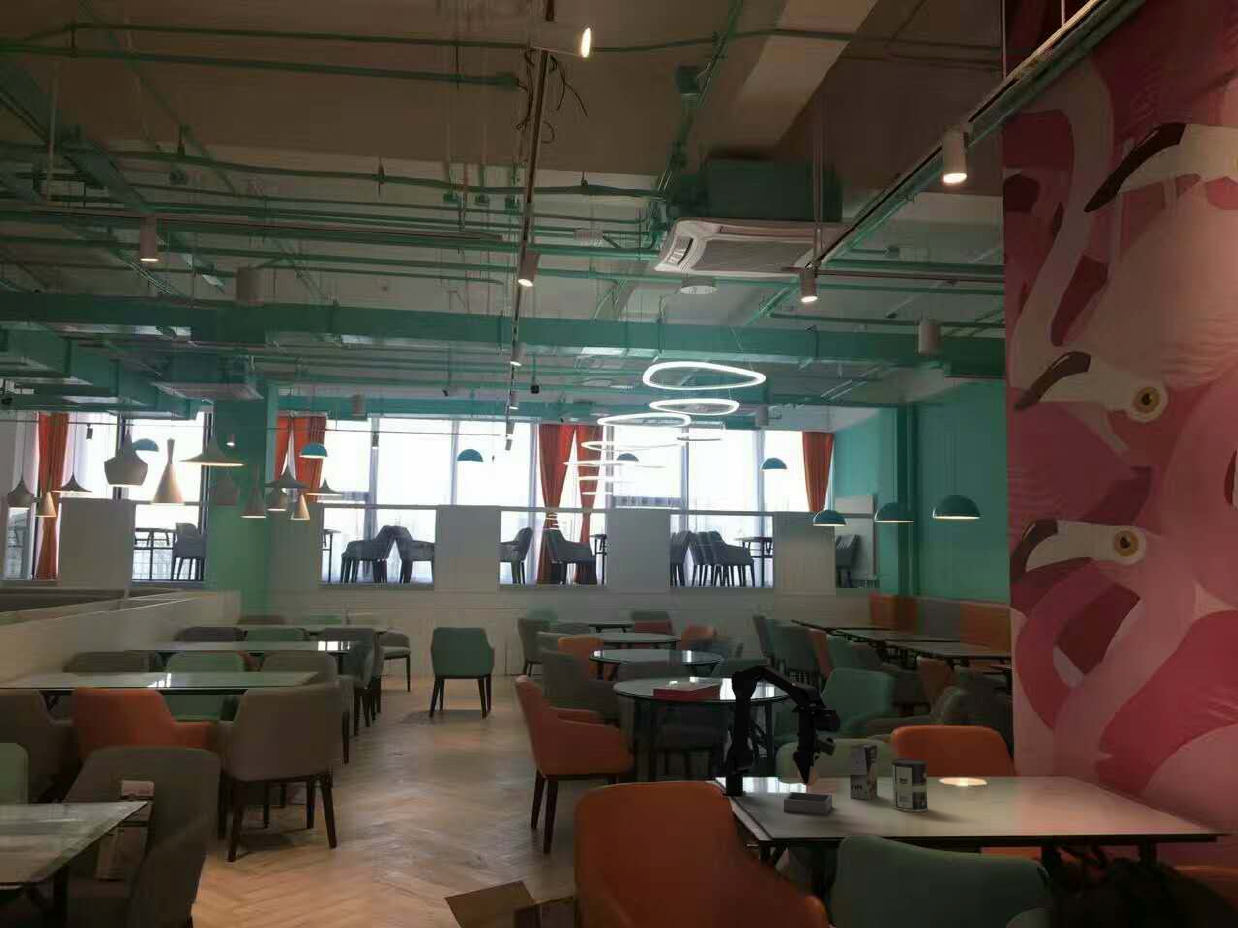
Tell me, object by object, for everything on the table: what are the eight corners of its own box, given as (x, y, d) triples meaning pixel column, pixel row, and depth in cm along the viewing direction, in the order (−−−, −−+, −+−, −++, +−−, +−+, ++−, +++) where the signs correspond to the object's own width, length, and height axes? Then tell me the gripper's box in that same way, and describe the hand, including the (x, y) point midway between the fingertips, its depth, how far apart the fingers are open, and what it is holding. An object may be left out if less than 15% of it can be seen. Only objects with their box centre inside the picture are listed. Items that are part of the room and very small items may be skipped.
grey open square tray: (791, 803, 313) (790, 791, 313) (832, 806, 309) (831, 794, 309) (783, 811, 301) (783, 799, 302) (826, 814, 297) (826, 802, 298)
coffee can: (926, 805, 312) (924, 759, 314) (929, 812, 302) (928, 764, 304) (891, 804, 314) (890, 757, 316) (893, 811, 304) (892, 762, 306)
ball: (799, 783, 310) (799, 762, 311) (819, 784, 308) (818, 764, 309) (796, 786, 304) (796, 766, 305) (816, 788, 302) (816, 767, 303)
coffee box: (869, 800, 319) (868, 748, 321) (850, 797, 323) (849, 746, 325) (878, 795, 327) (877, 744, 329) (858, 793, 330) (858, 742, 332)
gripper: (830, 734, 297) (830, 789, 295) (837, 726, 314) (838, 778, 312) (792, 732, 300) (792, 786, 298) (801, 724, 318) (802, 775, 316)
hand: (807, 781), depth 306 cm, fingers closed on ball, 6 cm apart
